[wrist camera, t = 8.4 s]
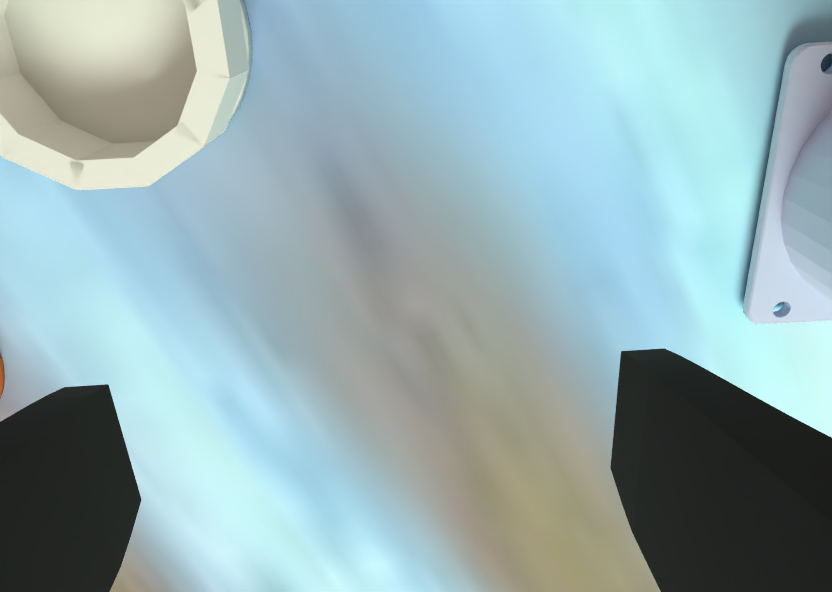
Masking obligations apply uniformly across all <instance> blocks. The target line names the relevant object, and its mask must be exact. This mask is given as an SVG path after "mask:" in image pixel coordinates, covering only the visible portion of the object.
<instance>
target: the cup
mask: <svg viewBox="0 0 832 592" xmlns="http://www.w3.org/2000/svg"><path fill="white" fill-rule="evenodd" d="M251 66H252V39H251V29H250V24H249V19H248V15H247V11H246V8H245V5H244V2H243V0H0V155H1V156H2V157H4V158H5V159H7V160H10V161H12V162H14V163H16V164H19V165H21V166H23V167H25V168H28V169H30V170H32V171H34V172H37V173H39V174H41V175H43V176H46V177H48V178H50V179H52V180H55V181H57V182H59V183H61V184H64V185H66V186H68V187H70V188H73V189H75V190H91V189H110V188H129V187H147V186H150V185H151V184H152V183H154V182H155V181H157V180H158V179H159V178H161V177H162V176H164V175H165V174H166V173H168V172H169V171H171V170H172V169H174V168H175V167H176V166H178V165H179V164H181V163H182V162H183V161H185V160H186V159H188V158H189V157H190V156H192V155H193V154H195V153H196V152H197V151H199V150H200V149H202V148H203V147H204V146H206V145H207V144H208V143H210V142H211V141H213V140H214V139H215V138H217V137H218V136H219V135H221V134H222V133H223V132H225V131H226V128H227V126H228V124H229V123H230V121H231V120H232V118H233V116H234V115H235V113H236V112H237V110H238V108H239V106H240V104H241V102H242V100H243V98H244V95H245V92H246V89H247V86H248V83H249V78H250V72H251Z"/></svg>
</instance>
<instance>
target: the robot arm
mask: <svg viewBox="0 0 832 592" xmlns="http://www.w3.org/2000/svg"><path fill="white" fill-rule="evenodd" d="M829 53H830V54H831V55H832V41H831V42H812V43H805V44H801V45H799V46H798V47H796V48H795V49H793V50H792V52H791V53H790V54H789V55H788V57H787V60H786V63H785V67H784V73H783V78H782V84H781V90H780V96H779V101H778V107H777V113H776V119H775V124H774V130H773V136H772V142H771V148H770V153H769V159H768V165H767V171H766V176H765V182H764V188H763V194H762V200H761V205H760V211H759V217H758V223H757V228H756V234H755V240H754V246H753V251H752V257H751V263H750V269H749V275H748V280H747V286H746V292H745V298H744V303H743V312H744V314H745V316H746V317H747V318H748V319H749V320H750V321H752V322H753V323H755V324H761V325H764V324H783V323H802V322H822V321H832V64H831V66H830V68H828V69H827V70H826V71H824V72H823V71H822V70H821V62H822V60H823V58H824V57H825V56H826V55H827V54H829ZM780 302H784V304H783V306H782V308H781V309H780V310H778V311H775V312H773V309H774V307H775V305H777V304H778V303H780ZM611 471H612V474H613V477H614V480H615V483H616V486H617V489H618V492H619V495H620V499H621V502H622V505H623V507H624V510H625V513H626V516H627V519H628V522H629V524H630V527H631V530H632V533H633V535H634V537H635V539H636V541H637V543H638V545H639V547H640V549H641V552H642V554H643V556H644V558H645V560H646V562H647V564H648V566H649V568H650V570H651V572H652V574H653V576H654V578H655V580H656V582H657V585H658V587H659V589H660V591H661V592H832V438H831V437H829V436H827V435H825V434H823V433H821V432H819V431H818V430H816V429H814V428H812V427H810V426H808V425H806V424H804V423H802V422H800V421H798V420H797V419H795V418H793V417H791V416H789V415H787V414H785V413H784V412H782V411H780V410H778V409H776V408H774V407H773V406H771V405H769V404H767V403H765V402H763V401H762V400H760V399H758V398H756V397H754V396H753V395H751V394H749V393H747V392H745V391H744V390H742V389H740V388H738V387H737V386H735V385H733V384H731V383H729V382H728V381H726V380H724V379H722V378H720V377H719V376H717V375H715V374H713V373H711V372H710V371H708V370H706V369H704V368H702V367H701V366H699V365H697V364H695V363H693V362H691V361H689V360H687V359H685V358H684V357H682V356H679V355H677V354H675V353H673V352H671V351H669V350H666V349H650V350H635V351H621V359H620V370H619V381H618V392H617V404H616V415H615V426H614V437H613V448H612V459H611ZM140 502H141V497H140V493H139V490H138V486H137V483H136V479H135V476H134V472H133V469H132V466H131V462H130V459H129V455H128V452H127V448H126V445H125V441H124V438H123V434H122V431H121V427H120V424H119V420H118V417H117V413H116V410H115V406H114V403H113V399H112V396H111V392H110V389H109V385H93V386H78V387H64V388H62V389H60V390H58V391H56V392H53V393H51V394H49V395H47V396H45V397H43V398H41V399H40V400H38V401H36V402H34V403H32V404H30V405H29V406H27V407H25V408H23V409H22V410H20V411H18V412H16V413H15V414H13V415H11V416H10V417H8V418H6V419H4V420H3V421H1V422H0V592H109V591H110V589H111V587H112V585H113V583H114V580H115V578H116V576H117V574H118V571H119V569H120V567H121V564H122V561H123V558H124V555H125V552H126V549H127V546H128V543H129V540H130V537H131V533H132V530H133V527H134V523H135V520H136V516H137V513H138V509H139V506H140Z"/></svg>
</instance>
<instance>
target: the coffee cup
mask: <svg viewBox="0 0 832 592" xmlns="http://www.w3.org/2000/svg"><path fill="white" fill-rule="evenodd" d="M4 380H5V374H4V366H3V361H2V357H1V354H0V398H1V396H2V393H3V388H4Z"/></svg>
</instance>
